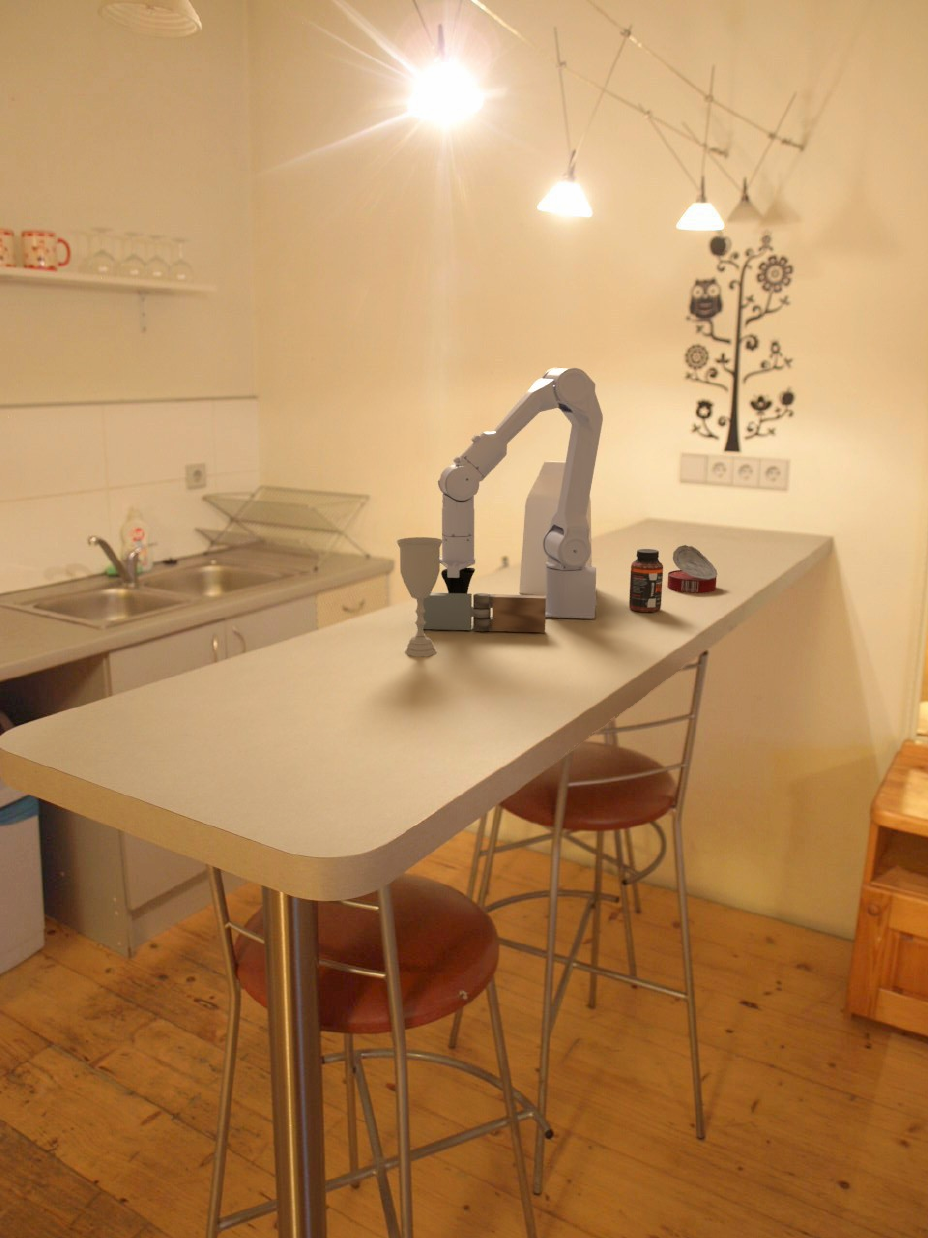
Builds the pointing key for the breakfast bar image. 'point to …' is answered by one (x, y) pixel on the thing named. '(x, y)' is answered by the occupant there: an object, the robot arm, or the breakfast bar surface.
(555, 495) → the milk
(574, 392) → the robot arm
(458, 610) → the swing leaf
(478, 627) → the fixed leaf
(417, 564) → the chalice
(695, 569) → the canned food
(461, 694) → the breakfast bar surface
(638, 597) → the supplement bottle
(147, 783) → the breakfast bar surface
